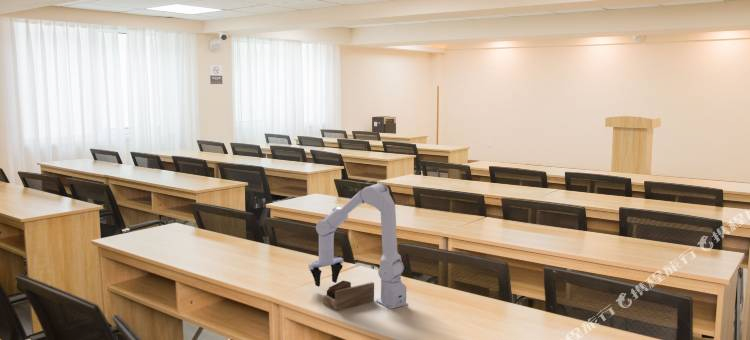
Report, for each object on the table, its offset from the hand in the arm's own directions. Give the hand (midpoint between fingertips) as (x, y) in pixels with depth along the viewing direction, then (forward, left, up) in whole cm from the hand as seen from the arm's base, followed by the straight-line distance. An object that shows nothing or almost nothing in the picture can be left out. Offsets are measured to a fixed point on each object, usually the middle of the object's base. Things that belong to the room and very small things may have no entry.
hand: (326, 283), depth 228 cm
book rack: (-16, 0, -2) cm, 16 cm away
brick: (-9, 0, -3) cm, 9 cm away
